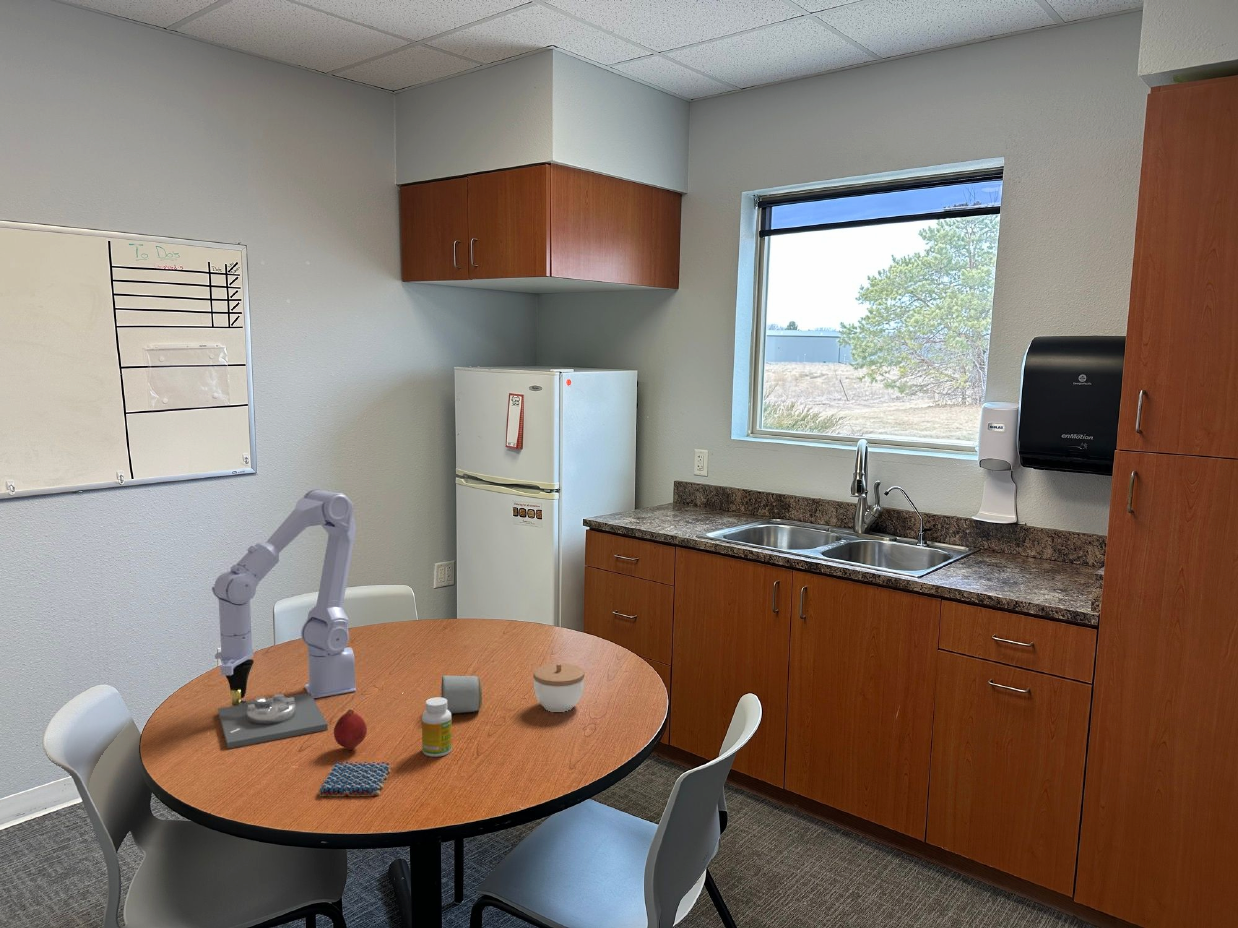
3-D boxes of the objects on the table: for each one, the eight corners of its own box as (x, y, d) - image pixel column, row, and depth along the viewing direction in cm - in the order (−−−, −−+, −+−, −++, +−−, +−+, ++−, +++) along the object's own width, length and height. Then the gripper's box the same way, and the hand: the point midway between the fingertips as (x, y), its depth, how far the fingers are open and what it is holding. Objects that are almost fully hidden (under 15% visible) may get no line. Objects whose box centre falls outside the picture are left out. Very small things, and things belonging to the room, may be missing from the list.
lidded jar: (594, 706, 184) (595, 664, 183) (557, 721, 176) (557, 677, 175) (559, 693, 191) (560, 652, 190) (522, 706, 183) (522, 664, 182)
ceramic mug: (483, 716, 179) (483, 679, 178) (442, 719, 176) (442, 683, 176) (477, 697, 189) (477, 663, 188) (439, 700, 186) (438, 666, 186)
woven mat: (393, 770, 156) (393, 759, 156) (379, 800, 145) (379, 788, 145) (334, 770, 155) (334, 759, 155) (316, 800, 145) (315, 788, 145)
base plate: (310, 697, 187) (310, 692, 186) (327, 729, 171) (327, 723, 171) (218, 713, 178) (218, 707, 178) (227, 748, 162) (227, 742, 162)
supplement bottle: (444, 758, 159) (444, 708, 158) (417, 755, 160) (416, 705, 159) (456, 746, 165) (455, 696, 163) (429, 743, 166) (428, 694, 164)
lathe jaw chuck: (302, 706, 179) (301, 682, 178) (285, 725, 170) (284, 699, 169) (242, 705, 179) (241, 681, 178) (222, 723, 170) (220, 698, 169)
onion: (337, 759, 159) (336, 717, 158) (332, 746, 164) (330, 705, 163) (369, 752, 161) (369, 711, 160) (363, 740, 166) (362, 700, 165)
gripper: (225, 621, 180) (228, 684, 182) (202, 644, 166) (206, 712, 168) (261, 620, 181) (263, 682, 183) (241, 643, 167) (244, 710, 169)
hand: (238, 697), depth 175 cm, fingers closed, pressing on lathe jaw chuck
